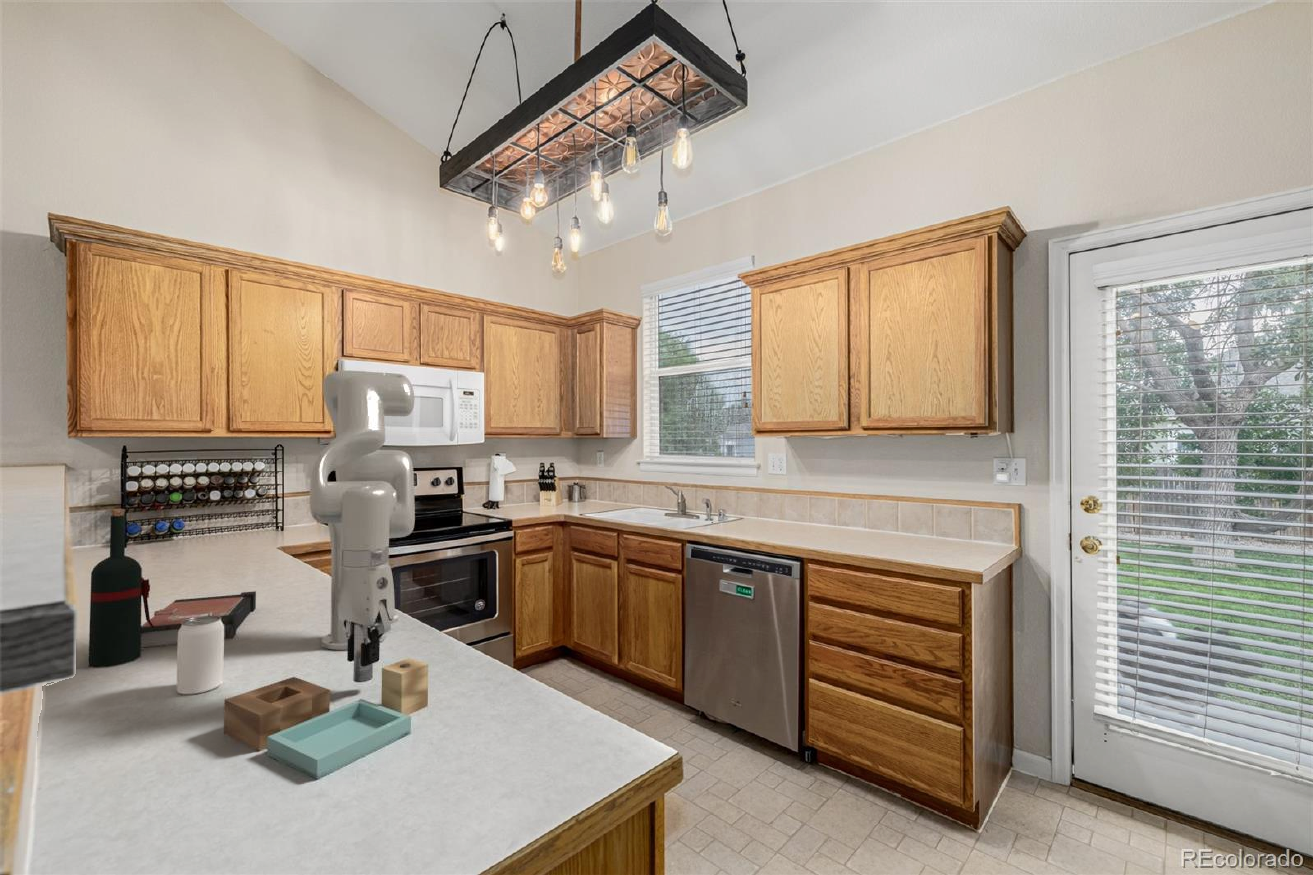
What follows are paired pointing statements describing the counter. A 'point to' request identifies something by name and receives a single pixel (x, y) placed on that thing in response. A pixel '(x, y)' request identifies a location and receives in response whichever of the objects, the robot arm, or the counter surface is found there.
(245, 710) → the bore block
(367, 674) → the cylinder
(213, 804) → the counter surface
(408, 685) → the oak block
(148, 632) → the book
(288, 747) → the tray
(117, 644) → the wine bottle
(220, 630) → the can
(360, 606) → the robot arm
